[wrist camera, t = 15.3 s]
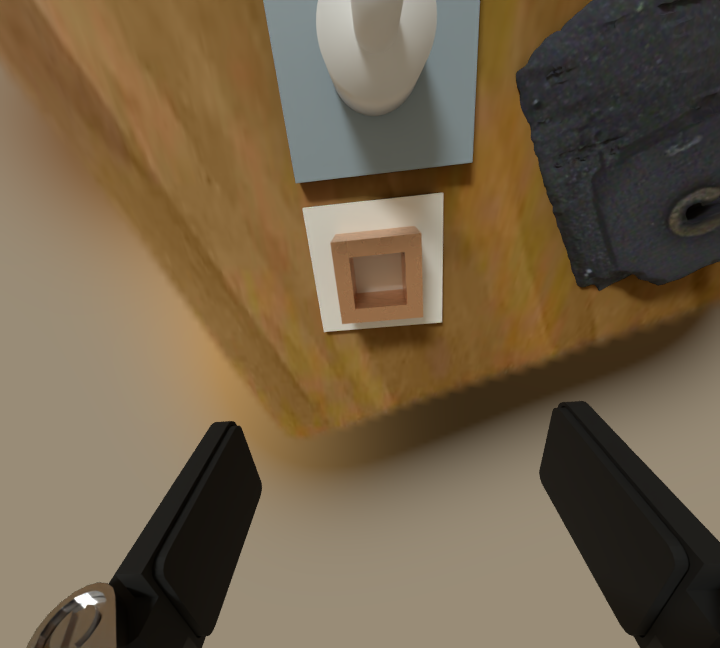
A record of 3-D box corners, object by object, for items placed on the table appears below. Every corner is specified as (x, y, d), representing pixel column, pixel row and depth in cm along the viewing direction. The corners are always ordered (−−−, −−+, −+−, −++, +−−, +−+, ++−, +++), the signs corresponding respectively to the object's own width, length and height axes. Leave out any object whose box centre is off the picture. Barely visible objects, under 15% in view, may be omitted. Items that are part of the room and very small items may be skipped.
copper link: (414, 225, 27) (421, 233, 23) (416, 300, 30) (423, 317, 26) (335, 234, 27) (330, 242, 24) (345, 306, 30) (342, 324, 26)
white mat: (441, 192, 26) (443, 192, 25) (440, 319, 31) (442, 322, 30) (303, 207, 27) (302, 208, 26) (324, 329, 32) (324, 331, 31)
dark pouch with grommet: (737, -101, 19) (845, -184, 14) (759, 218, 27) (834, 226, 22) (498, 66, 23) (528, 40, 18) (578, 303, 30) (613, 323, 26)
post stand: (476, -89, 19) (604, -411, 9) (466, 163, 25) (535, 151, 15) (259, -51, 20) (139, -298, 10) (299, 182, 26) (252, 185, 16)
